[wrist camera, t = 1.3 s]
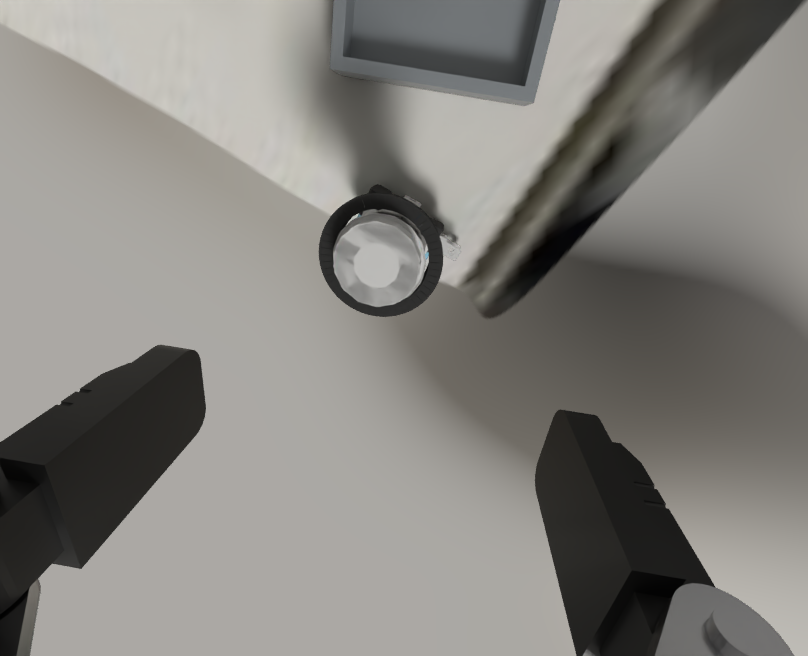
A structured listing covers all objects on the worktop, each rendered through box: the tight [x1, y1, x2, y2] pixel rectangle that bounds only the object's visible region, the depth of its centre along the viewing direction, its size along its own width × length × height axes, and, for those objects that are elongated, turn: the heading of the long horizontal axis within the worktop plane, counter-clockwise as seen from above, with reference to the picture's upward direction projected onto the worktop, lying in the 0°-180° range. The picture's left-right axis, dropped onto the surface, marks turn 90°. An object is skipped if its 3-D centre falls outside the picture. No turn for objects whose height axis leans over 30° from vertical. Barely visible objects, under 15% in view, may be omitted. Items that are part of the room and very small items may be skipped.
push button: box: [319, 184, 461, 317], centre depth 21 cm, size 7×5×10 cm
